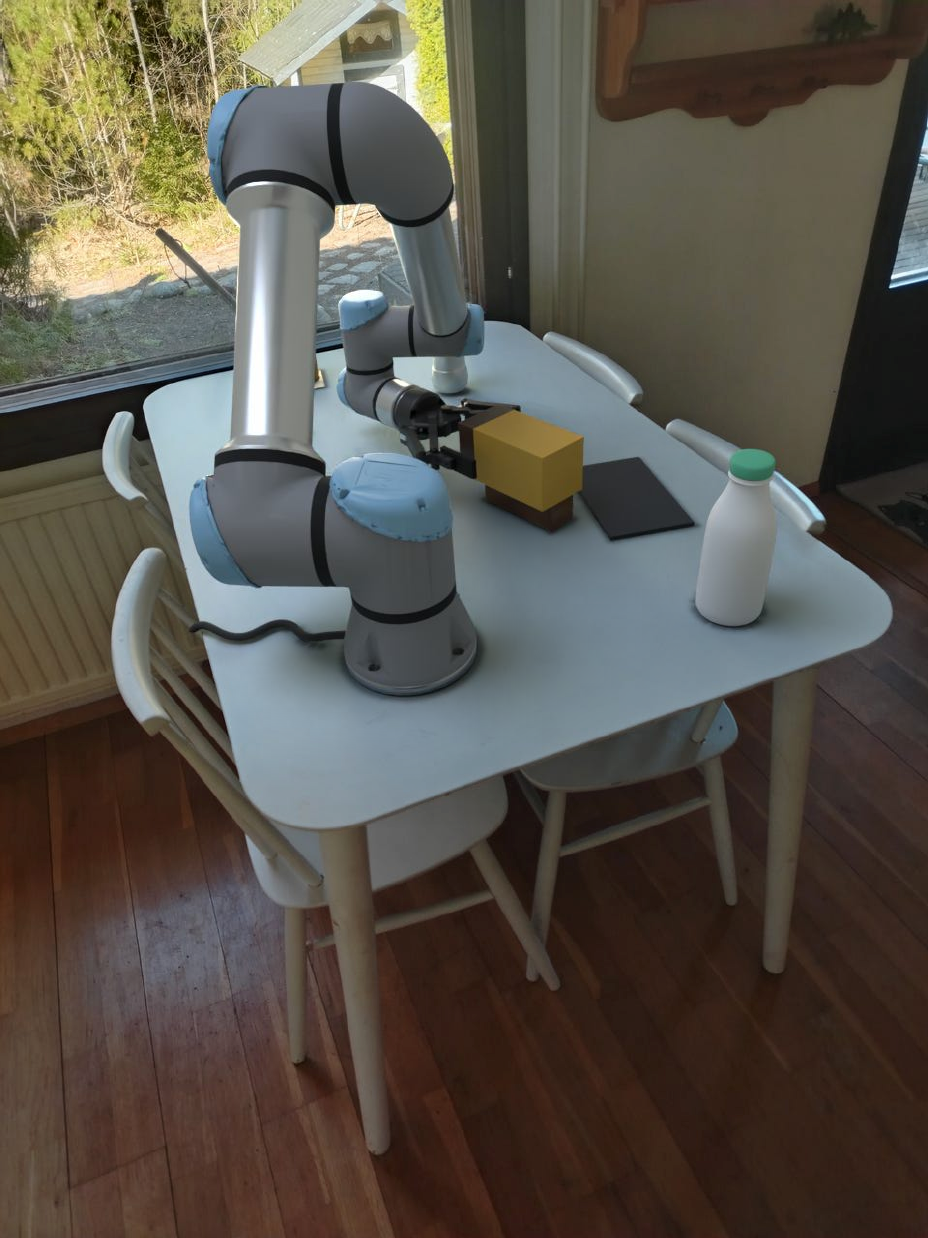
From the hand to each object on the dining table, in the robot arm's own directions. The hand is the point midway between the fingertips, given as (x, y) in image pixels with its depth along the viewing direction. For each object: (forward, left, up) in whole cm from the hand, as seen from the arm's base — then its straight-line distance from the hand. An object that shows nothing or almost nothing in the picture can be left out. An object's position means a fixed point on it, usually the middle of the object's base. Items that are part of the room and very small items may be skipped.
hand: (509, 452), depth 119 cm
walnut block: (+2, -3, -8) cm, 9 cm away
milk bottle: (+18, -32, -8) cm, 38 cm away
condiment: (-26, +56, -8) cm, 62 cm away
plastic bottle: (0, +42, -8) cm, 43 cm away
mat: (+16, -4, -8) cm, 18 cm away
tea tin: (+1, -2, -4) cm, 4 cm away
